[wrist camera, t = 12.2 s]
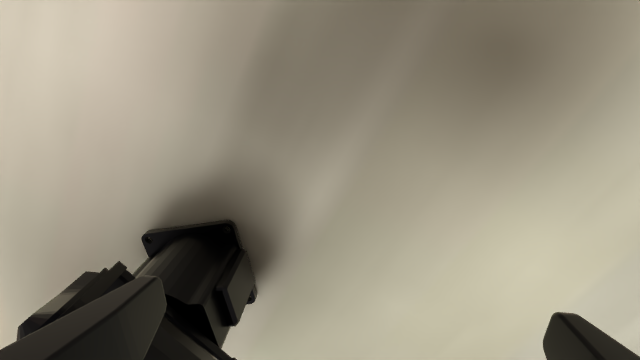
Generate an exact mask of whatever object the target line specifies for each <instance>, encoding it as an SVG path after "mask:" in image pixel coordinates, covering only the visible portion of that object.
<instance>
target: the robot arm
mask: <svg viewBox="0 0 640 360" xmlns="http://www.w3.org/2000/svg"><path fill="white" fill-rule="evenodd" d="M225 227H229V228H230V230H226V228H225ZM149 237H150V238H151V239H152V240H150V239H149ZM142 242H143V245H144V247H145V249H146V252H147V254H148V257H149V258H148V259H147V260H146V261H145V262H144V263H143V264H142V265H141V266H140V267H139V268H138V269H137V270H136V271H135V272H134V274H133V275H132V274H131V273H129V272H128V271H127V270H126V269H127V267H126V266H125V265H123V264H122V263H121V262H120V261H118V262H117V263H116V264H115V265H114V266H113V267H112V268H111V269H110V270H108V269H107V268H104V269H103V270H102V271H101V272H100V273H96V272H85V273H84V274H83V275H81V276H80V277H79V278H78V279H77V280H75V281H74V282H73V283H72V284H71V285H70V286H68V287H67V288H66V289H65V290H64V291H62V292H61V293H60V294H59V295H57V296H56V297H55V298H54V299H52V300H51V301H50V302H48V303H47V304H46V305H44V306H43V307H42V308H40V309H39V310H38V311H36V312H35V313H34V314H33V315H31V316H30V317H29V318H28V319H27V320H26V321H24V322H23V323H22V324H21V325H20V326H19V327H18V332H17V341H16V342H14V343H12V344H10V345H8V346H6V347H5V348H3V349H1V350H0V360H237V359H235V358H231V357H230V356H229V355H227V354H226V353H225V352H224V351H223V350H222V349H221V348H222V346H223V343H224V341H225V339H226V336H227V334H228V331H229V329H230V327H231V326H236V325H237V324H238V322H239V321H240V318H241V316H242V313H243V310H244V308H245V305H246V304H252V303H254V301H255V299H256V296H257V294H256V291H255V287H254V283H255V278H254V275H253V271H252V268H251V265H250V261H249V258H248V255H247V251H246V250H245V249H243V248H242V245H241V241H240V238H239V235H238V232H237V228H236V225H235V224H234V223H233V222H232V221H230V220H225V221H218V222H210V223H203V224H196V225H188V226H181V227H174V228H166V229H159V230H151V231H147V232H146V233H145V234H144V235H143V236H142ZM249 296H251V297H249ZM543 349H544V353H545V356H546V358H547V360H640V357H639V356H638V355H636V354H635V353H633V352H632V351H630V350H629V349H628V348H626V347H625V346H623V345H622V344H620V343H619V342H617V341H616V340H614V339H613V338H611V337H610V336H608V335H607V334H606V333H604V332H603V331H601V330H600V329H598V328H597V327H595V326H594V325H592V324H591V323H589V322H588V321H586V320H585V319H584V318H582V317H581V316H579V315H577V314H573V313H563V312H556V313H554V314H553V315H552V317H551V319H550V322H549V325H548V327H547V330H546V333H545V336H544V339H543Z"/></svg>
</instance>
